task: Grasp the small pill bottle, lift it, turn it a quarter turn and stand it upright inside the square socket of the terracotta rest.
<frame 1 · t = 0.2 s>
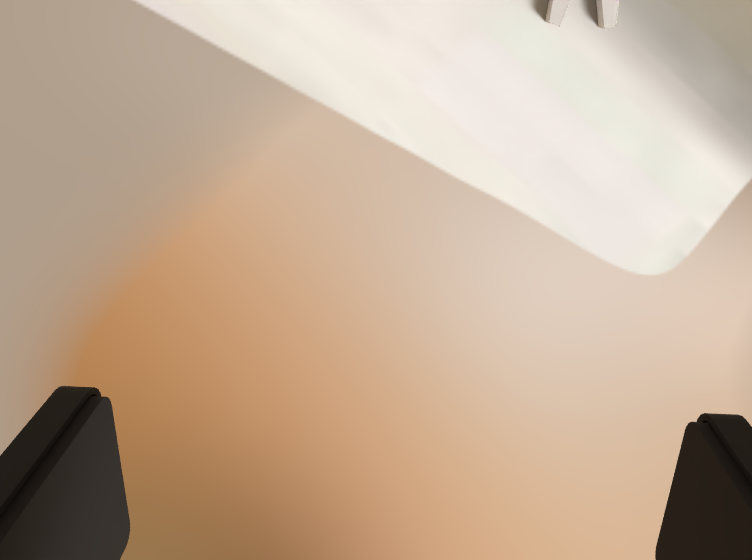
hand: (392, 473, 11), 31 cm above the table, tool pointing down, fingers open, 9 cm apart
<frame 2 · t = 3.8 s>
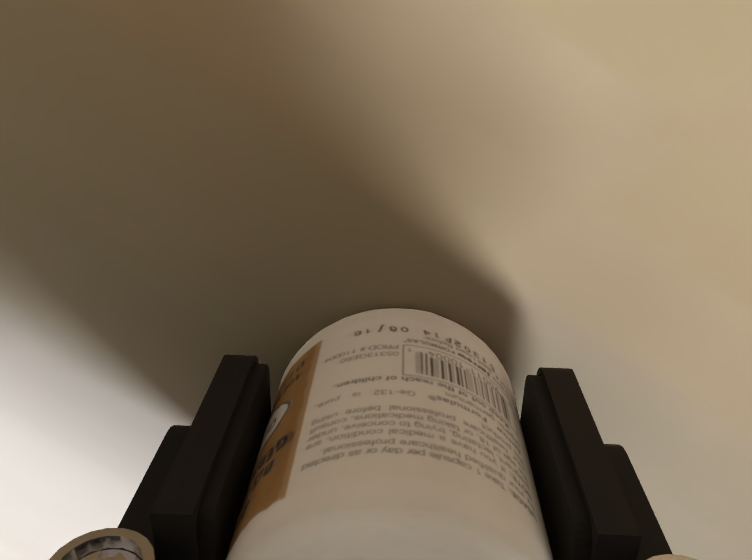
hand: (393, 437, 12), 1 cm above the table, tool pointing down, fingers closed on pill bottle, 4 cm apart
pill bottle: (395, 399, 13), on the table, touching gripper
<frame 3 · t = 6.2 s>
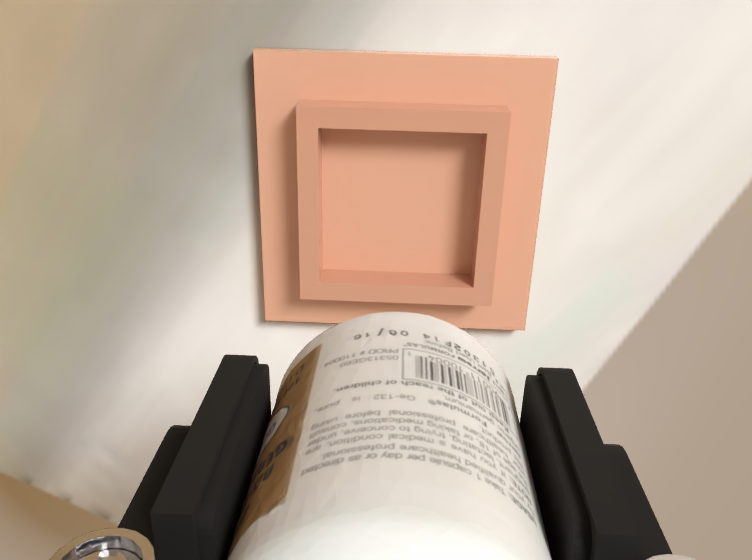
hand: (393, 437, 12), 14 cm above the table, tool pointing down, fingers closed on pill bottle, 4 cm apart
pill bottle: (395, 402, 13), point 13 cm above the table, touching gripper
rest: (399, 195, 25), on the table
when the fingers open (3 cm above the table, at t = 8.9 s): pill bottle drops 1 cm, resting on rest.
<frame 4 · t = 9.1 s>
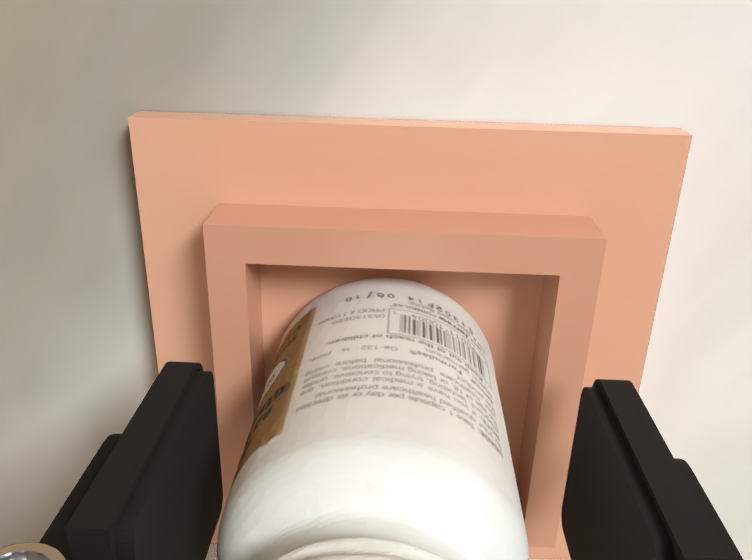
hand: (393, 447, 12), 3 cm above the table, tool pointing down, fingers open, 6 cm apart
pill bottle: (384, 363, 15), resting on rest
rest: (397, 354, 15), on the table
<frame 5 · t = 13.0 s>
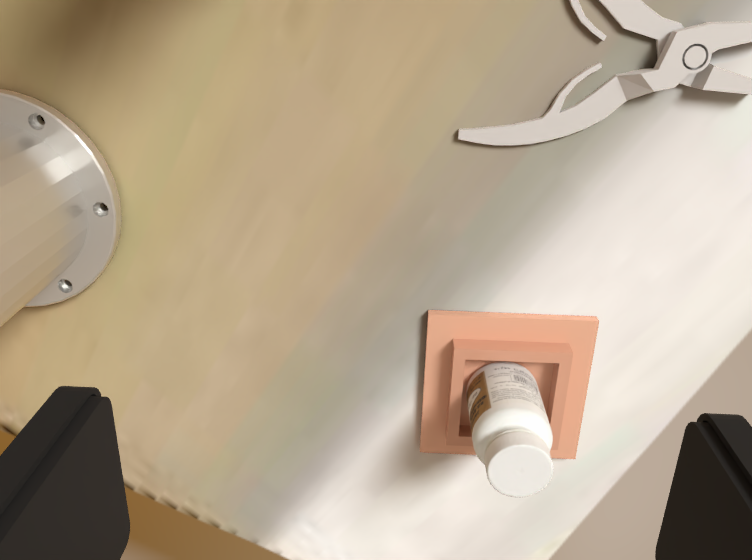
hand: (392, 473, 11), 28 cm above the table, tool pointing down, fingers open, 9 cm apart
pill bottle: (500, 387, 43), resting on rest
pliers: (610, 50, 36), on the table
rest: (503, 384, 44), on the table
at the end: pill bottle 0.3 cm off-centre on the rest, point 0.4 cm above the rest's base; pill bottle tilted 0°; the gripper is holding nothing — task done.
